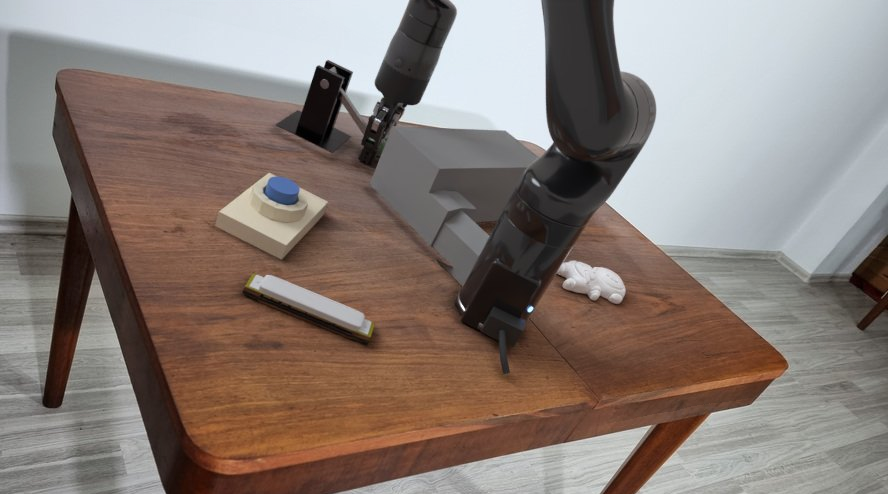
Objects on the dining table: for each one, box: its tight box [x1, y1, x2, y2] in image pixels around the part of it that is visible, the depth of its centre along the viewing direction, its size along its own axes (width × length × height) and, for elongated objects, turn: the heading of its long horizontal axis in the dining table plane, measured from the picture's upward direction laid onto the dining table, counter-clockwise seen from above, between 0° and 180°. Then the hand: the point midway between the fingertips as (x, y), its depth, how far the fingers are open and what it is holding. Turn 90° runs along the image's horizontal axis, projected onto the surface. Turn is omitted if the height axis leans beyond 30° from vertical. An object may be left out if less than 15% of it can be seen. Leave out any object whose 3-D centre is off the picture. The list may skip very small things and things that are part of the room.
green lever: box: [329, 67, 386, 157], centre depth 110 cm, size 15×3×3 cm
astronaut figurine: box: [556, 260, 627, 305], centre depth 107 cm, size 9×12×3 cm
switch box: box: [214, 172, 329, 260], centre depth 89 cm, size 14×9×4 cm, turn 162°
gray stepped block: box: [369, 125, 539, 287], centre depth 105 cm, size 25×23×11 cm
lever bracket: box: [275, 59, 354, 154], centre depth 111 cm, size 10×9×12 cm
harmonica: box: [242, 272, 376, 345], centre depth 77 cm, size 15×3×2 cm, turn 80°
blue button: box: [265, 175, 300, 205], centre depth 88 cm, size 4×4×2 cm
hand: (366, 163), depth 114 cm, fingers closed on green lever, 3 cm apart
